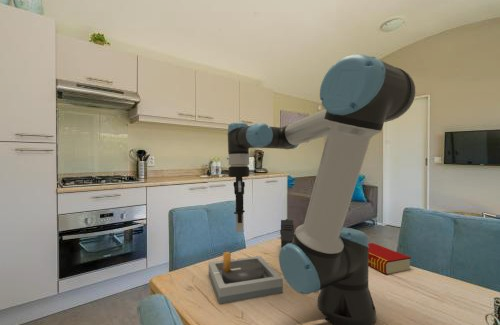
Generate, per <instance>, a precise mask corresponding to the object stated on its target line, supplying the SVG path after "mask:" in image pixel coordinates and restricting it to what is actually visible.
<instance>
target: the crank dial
mask: <svg viewBox="0 0 500 325" xmlns="http://www.w3.org/2000/svg"><path fill="white" fill-rule="evenodd" d="M222 255H223V259H222V261H223V268H222V279H223V281H224V282H226V283H227V284H229V283H236V282H242V281H249V280H255V279H262V278H264V268H263V266H262V265H260V264H258V263H256V262H252V261H235V262H231V259H232V258H231V256H232V255H231V252H230V251H224V252H223V254H222Z"/></svg>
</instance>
